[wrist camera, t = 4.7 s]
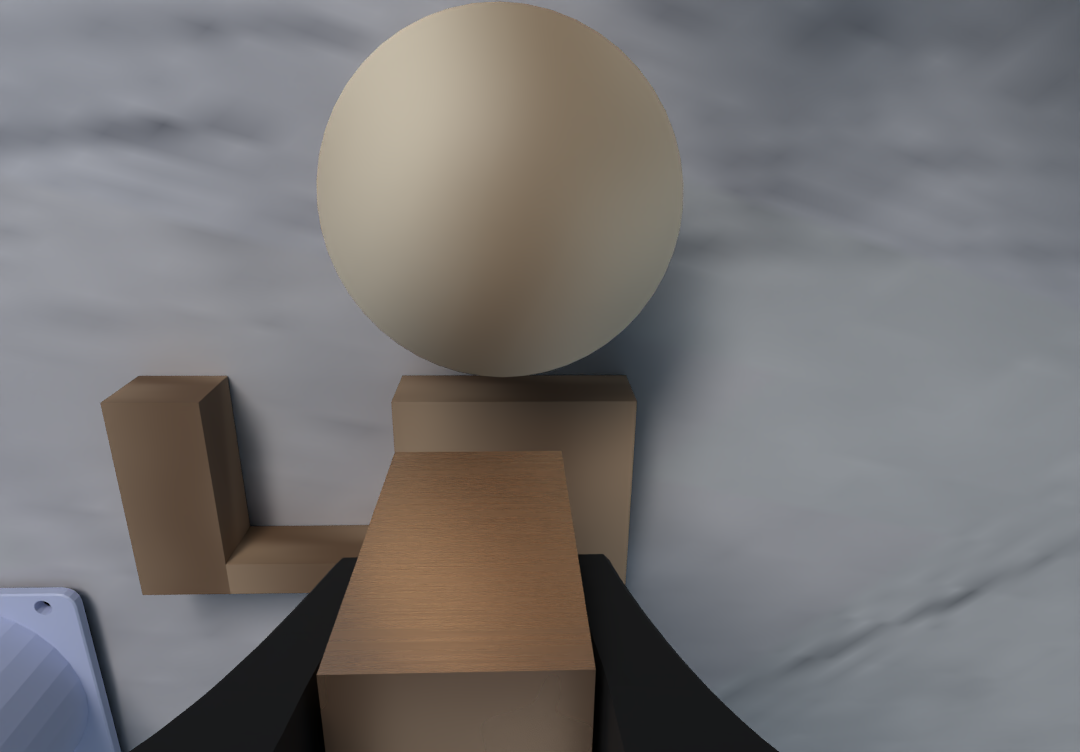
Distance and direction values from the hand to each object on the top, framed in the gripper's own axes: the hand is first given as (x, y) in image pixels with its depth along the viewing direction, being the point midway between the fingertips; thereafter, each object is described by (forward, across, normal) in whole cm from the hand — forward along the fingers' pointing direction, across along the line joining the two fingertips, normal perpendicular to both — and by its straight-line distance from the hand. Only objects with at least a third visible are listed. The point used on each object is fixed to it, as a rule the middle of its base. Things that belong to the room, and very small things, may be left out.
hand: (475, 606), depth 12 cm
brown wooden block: (+2, 0, 0) cm, 2 cm away
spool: (+10, 0, -6) cm, 11 cm away
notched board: (+10, +3, +3) cm, 11 cm away
